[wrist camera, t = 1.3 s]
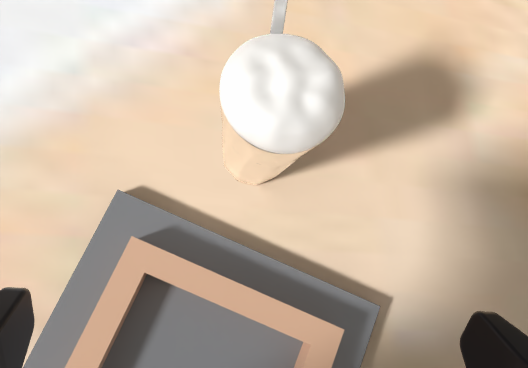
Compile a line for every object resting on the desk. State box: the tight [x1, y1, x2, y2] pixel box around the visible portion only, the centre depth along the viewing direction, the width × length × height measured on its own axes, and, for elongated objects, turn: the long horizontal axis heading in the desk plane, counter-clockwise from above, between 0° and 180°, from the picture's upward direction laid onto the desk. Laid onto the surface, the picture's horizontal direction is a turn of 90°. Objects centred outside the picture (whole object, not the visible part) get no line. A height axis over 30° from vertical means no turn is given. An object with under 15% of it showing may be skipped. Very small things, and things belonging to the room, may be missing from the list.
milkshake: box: [220, 0, 345, 185], centre depth 19 cm, size 4×5×10 cm
